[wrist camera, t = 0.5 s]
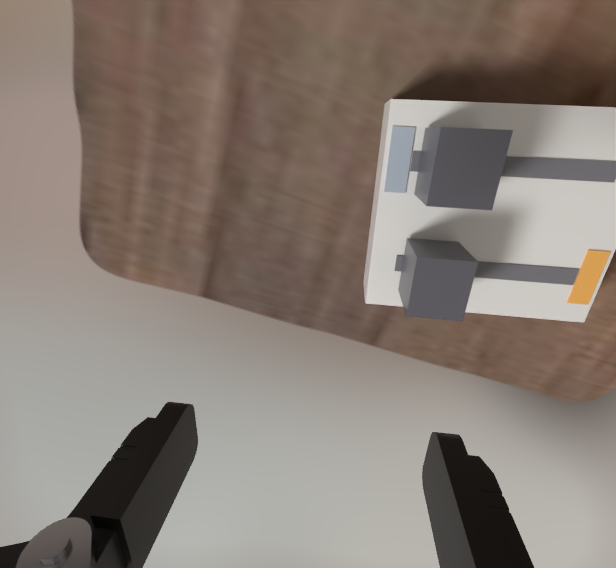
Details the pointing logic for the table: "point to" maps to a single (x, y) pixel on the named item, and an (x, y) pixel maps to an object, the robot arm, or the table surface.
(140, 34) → the table surface
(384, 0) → the table surface
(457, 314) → the outer tab
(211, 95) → the table surface
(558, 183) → the switch panel
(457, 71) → the table surface
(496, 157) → the inner tab
